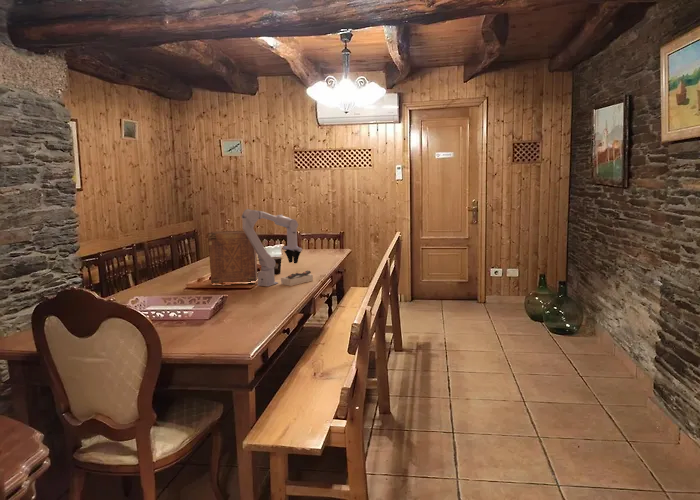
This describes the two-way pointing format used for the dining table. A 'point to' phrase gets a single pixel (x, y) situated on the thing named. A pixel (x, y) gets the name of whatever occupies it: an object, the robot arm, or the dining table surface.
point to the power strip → (296, 280)
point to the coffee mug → (277, 265)
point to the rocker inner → (292, 276)
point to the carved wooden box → (231, 257)
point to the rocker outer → (306, 272)
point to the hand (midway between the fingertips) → (293, 262)
